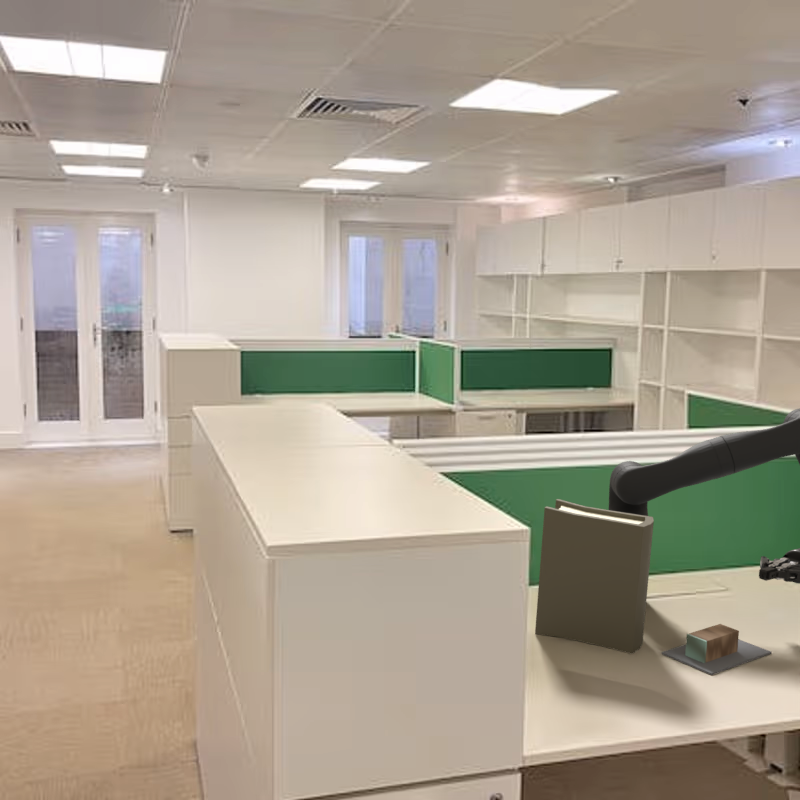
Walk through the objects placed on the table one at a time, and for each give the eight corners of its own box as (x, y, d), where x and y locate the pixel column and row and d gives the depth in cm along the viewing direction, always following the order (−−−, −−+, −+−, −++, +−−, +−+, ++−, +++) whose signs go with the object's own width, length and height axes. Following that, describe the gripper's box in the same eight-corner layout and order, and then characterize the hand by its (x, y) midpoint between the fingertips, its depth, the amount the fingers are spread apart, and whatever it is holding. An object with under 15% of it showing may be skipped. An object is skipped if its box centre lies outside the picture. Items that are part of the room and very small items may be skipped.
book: (645, 641, 194) (657, 514, 190) (635, 657, 186) (647, 524, 182) (548, 620, 204) (557, 498, 200) (535, 634, 195) (544, 507, 191)
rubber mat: (711, 675, 177) (711, 673, 177) (661, 653, 186) (661, 651, 186) (771, 653, 188) (771, 651, 188) (721, 634, 198) (721, 632, 198)
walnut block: (737, 651, 188) (703, 663, 181) (718, 644, 191) (685, 655, 185) (738, 630, 187) (705, 641, 181) (720, 623, 191) (686, 634, 184)
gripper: (782, 540, 209) (737, 549, 199) (838, 556, 198) (793, 566, 188) (779, 571, 210) (733, 582, 200) (834, 589, 199) (789, 601, 189)
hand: (762, 575), depth 194 cm, fingers closed
